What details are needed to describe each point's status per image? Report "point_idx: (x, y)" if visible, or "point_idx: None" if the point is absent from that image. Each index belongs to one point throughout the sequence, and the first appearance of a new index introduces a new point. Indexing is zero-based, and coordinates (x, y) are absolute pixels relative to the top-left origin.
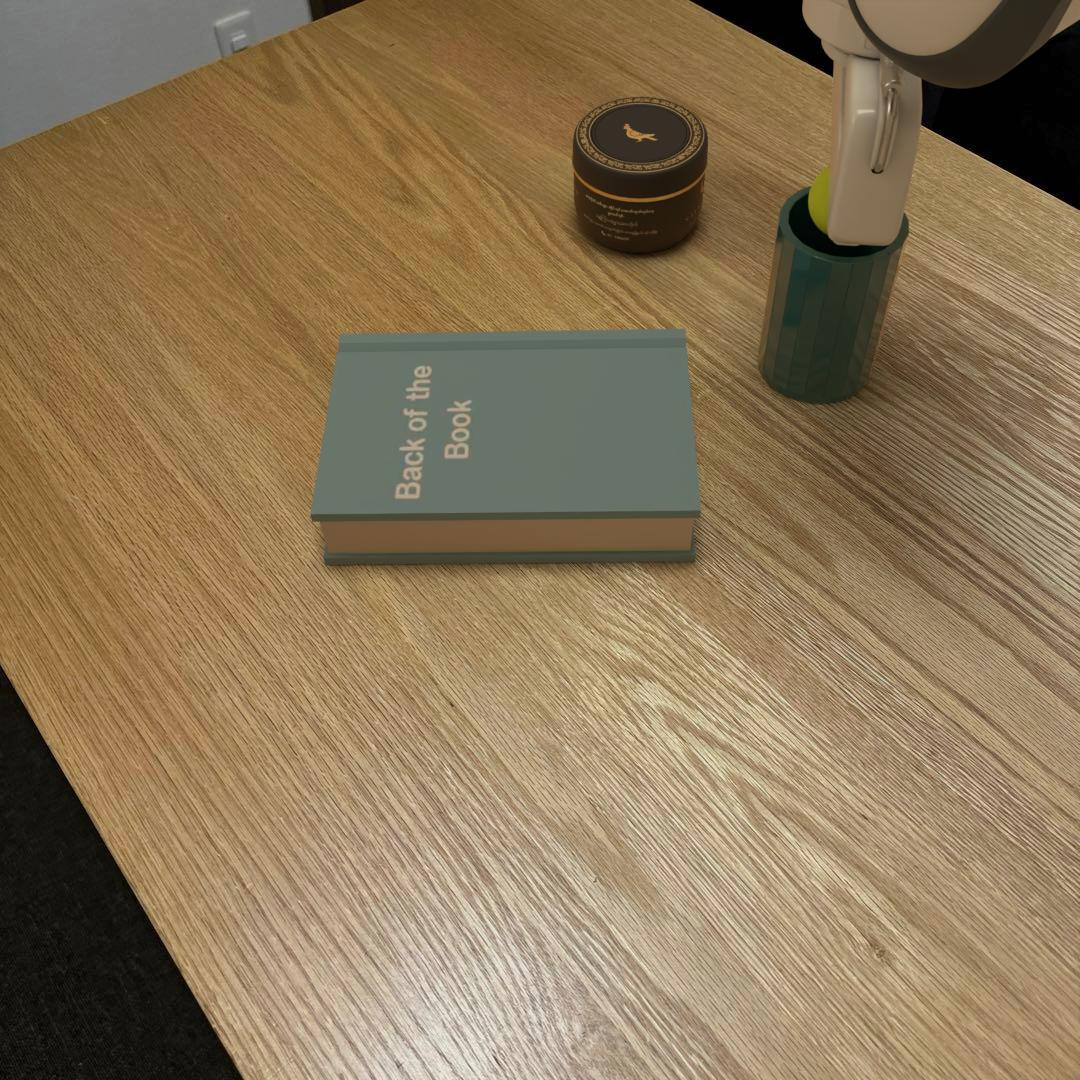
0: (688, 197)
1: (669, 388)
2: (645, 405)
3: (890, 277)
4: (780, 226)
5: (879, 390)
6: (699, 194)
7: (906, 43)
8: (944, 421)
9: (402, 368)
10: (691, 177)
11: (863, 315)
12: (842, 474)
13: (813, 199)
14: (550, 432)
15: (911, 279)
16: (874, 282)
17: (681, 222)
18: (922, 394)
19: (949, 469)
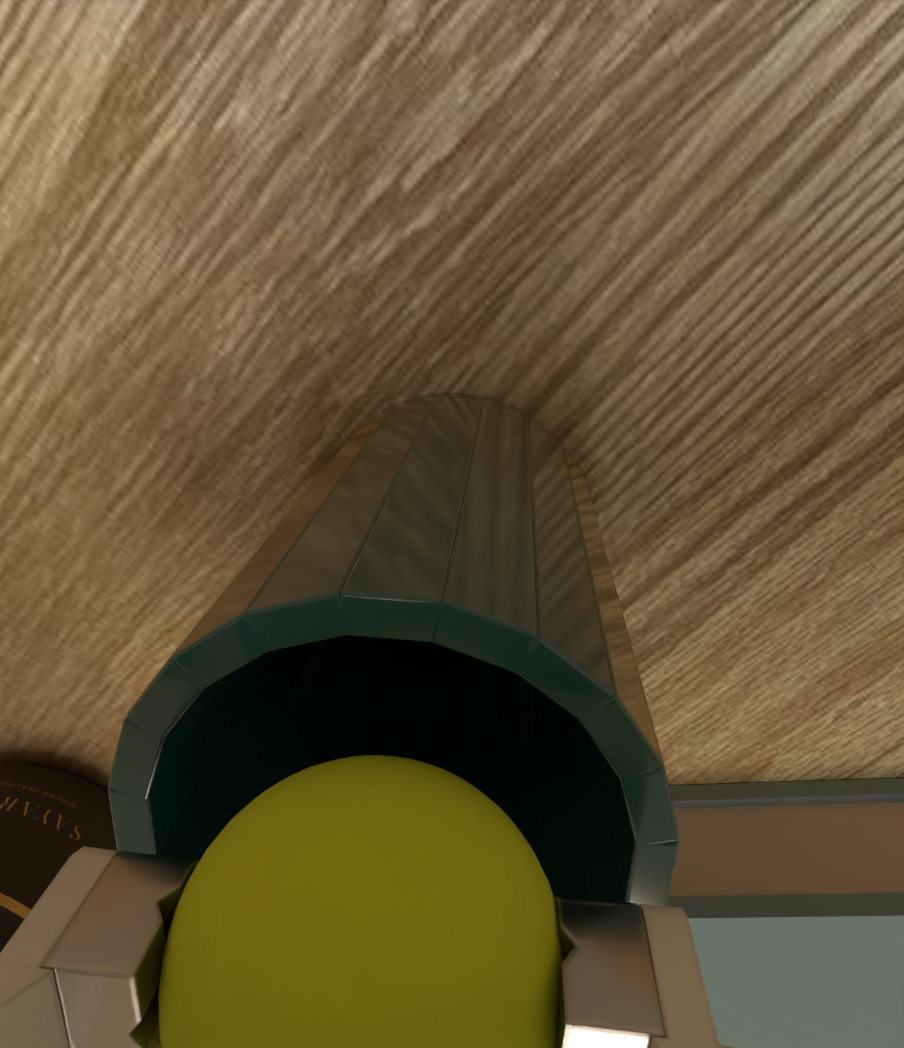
0: (40, 882)
1: (753, 954)
2: (807, 996)
3: (561, 582)
4: None
5: (539, 378)
6: (5, 839)
7: None
8: (649, 208)
9: None
10: (1, 932)
11: (614, 595)
12: (824, 482)
13: None
14: None
15: (98, 263)
16: (628, 662)
17: (92, 843)
18: (548, 264)
19: (829, 208)
